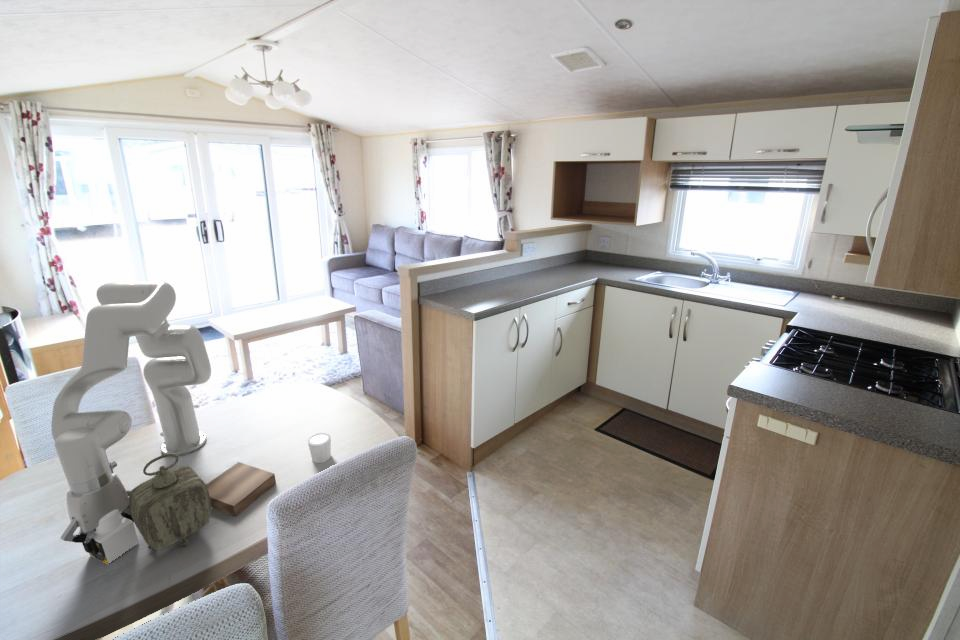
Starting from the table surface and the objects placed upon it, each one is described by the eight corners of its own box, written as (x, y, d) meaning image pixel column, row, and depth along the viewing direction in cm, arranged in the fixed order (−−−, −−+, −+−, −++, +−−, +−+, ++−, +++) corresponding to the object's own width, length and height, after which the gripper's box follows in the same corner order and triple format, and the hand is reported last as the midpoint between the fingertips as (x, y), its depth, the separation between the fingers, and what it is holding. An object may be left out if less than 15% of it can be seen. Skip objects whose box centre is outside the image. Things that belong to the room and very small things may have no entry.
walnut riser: (198, 502, 124) (195, 491, 122) (240, 471, 136) (238, 461, 135) (235, 516, 119) (233, 506, 118) (276, 483, 131) (274, 473, 130)
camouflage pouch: (206, 515, 119) (187, 436, 110) (220, 533, 114) (201, 450, 105) (141, 549, 108) (115, 464, 100) (154, 570, 103) (127, 482, 95)
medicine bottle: (89, 555, 106) (74, 516, 102) (121, 533, 113) (108, 495, 109) (108, 565, 104) (93, 525, 100) (140, 542, 110) (127, 504, 106)
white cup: (325, 465, 139) (323, 446, 137) (305, 462, 141) (303, 443, 138) (336, 452, 146) (334, 434, 143) (317, 449, 147) (315, 431, 145)
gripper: (121, 453, 110) (138, 509, 116) (33, 499, 95) (59, 562, 101) (141, 460, 108) (158, 518, 114) (55, 509, 92) (80, 573, 98)
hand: (111, 538), depth 107 cm, fingers closed on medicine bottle, 7 cm apart
